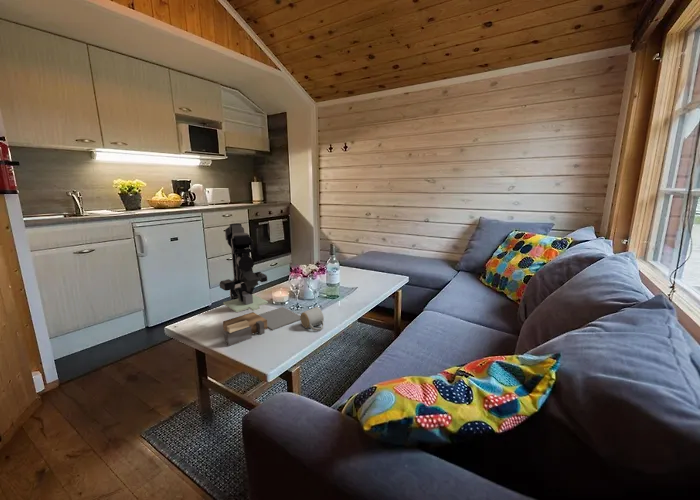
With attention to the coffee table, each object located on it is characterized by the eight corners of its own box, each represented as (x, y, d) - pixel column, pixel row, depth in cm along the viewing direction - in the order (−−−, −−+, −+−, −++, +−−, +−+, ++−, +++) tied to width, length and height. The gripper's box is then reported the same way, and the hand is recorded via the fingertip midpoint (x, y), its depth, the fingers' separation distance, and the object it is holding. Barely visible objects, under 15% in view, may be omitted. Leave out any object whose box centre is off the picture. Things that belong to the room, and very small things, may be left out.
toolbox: (213, 333, 133) (212, 322, 132) (253, 320, 146) (253, 310, 145) (229, 346, 123) (228, 334, 122) (271, 330, 136) (270, 320, 135)
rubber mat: (251, 318, 148) (251, 316, 148) (282, 308, 160) (282, 307, 160) (272, 330, 136) (272, 329, 136) (304, 318, 148) (304, 317, 148)
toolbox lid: (223, 304, 135) (222, 294, 134) (254, 295, 144) (253, 286, 143) (239, 314, 124) (239, 304, 123) (271, 305, 134) (271, 295, 133)
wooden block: (227, 331, 124) (226, 326, 124) (246, 324, 130) (245, 320, 129) (229, 333, 123) (229, 328, 122) (249, 326, 128) (248, 321, 128)
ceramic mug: (299, 325, 141) (298, 309, 139) (314, 320, 146) (314, 304, 144) (312, 334, 133) (312, 317, 131) (328, 328, 138) (328, 312, 137)
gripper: (229, 273, 120) (232, 312, 123) (273, 264, 132) (275, 299, 136) (217, 267, 127) (220, 304, 131) (259, 259, 140) (261, 293, 144)
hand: (245, 300), depth 135 cm, fingers closed on toolbox lid, 3 cm apart
